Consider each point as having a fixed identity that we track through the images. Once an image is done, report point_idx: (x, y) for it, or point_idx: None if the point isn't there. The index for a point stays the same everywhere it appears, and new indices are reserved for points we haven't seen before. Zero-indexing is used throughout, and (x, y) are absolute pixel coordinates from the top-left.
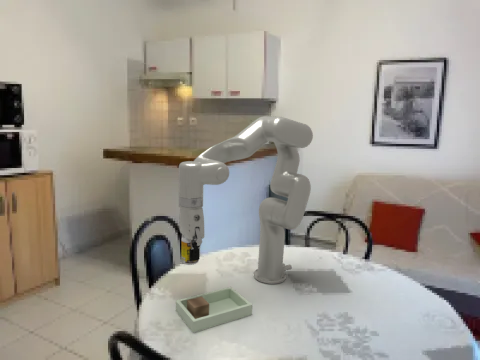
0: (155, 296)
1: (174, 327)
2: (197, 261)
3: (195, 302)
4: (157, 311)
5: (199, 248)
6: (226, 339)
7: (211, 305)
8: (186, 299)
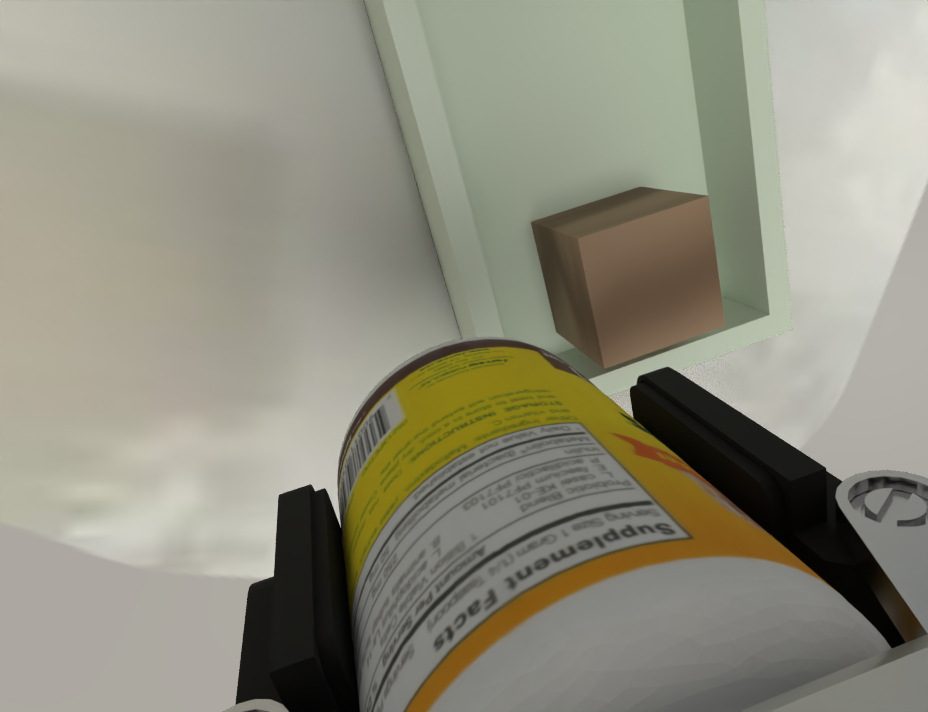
0: (225, 530)
1: (629, 404)
2: (571, 366)
3: (656, 306)
4: None
5: (806, 460)
6: (831, 110)
7: (468, 124)
8: None
